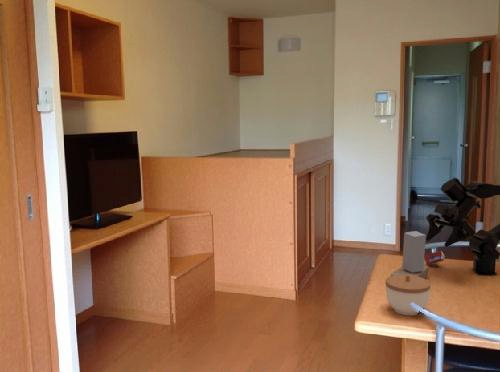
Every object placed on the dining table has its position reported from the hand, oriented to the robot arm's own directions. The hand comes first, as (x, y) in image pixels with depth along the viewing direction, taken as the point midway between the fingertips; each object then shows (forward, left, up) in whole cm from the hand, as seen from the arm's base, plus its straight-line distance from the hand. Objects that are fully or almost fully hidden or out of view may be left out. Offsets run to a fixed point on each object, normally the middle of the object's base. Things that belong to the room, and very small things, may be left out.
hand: (435, 243), depth 166 cm
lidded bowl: (+17, +30, -13) cm, 36 cm away
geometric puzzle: (-4, -15, -13) cm, 21 cm away
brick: (+9, +3, -14) cm, 17 cm away
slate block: (+9, +3, -9) cm, 12 cm away
